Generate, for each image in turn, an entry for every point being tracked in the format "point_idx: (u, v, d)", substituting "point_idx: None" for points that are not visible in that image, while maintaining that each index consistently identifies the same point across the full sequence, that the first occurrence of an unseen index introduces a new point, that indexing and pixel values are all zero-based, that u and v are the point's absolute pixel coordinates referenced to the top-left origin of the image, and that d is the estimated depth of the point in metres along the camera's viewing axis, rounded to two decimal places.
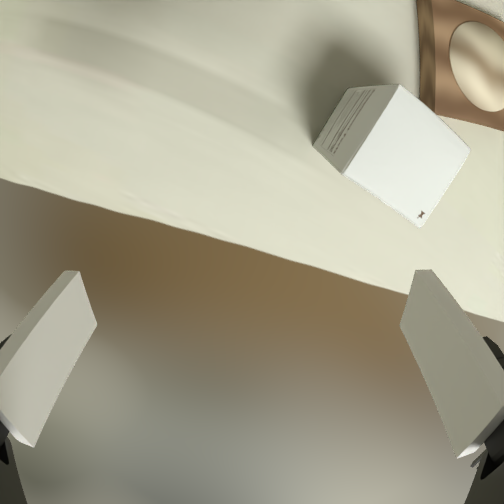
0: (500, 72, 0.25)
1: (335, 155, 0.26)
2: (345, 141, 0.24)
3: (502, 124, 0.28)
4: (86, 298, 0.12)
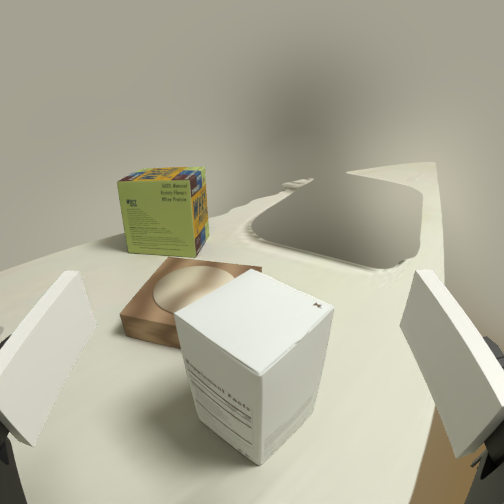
0: (201, 277, 0.46)
1: (250, 405, 0.20)
2: (233, 389, 0.21)
3: None
4: (86, 298, 0.12)
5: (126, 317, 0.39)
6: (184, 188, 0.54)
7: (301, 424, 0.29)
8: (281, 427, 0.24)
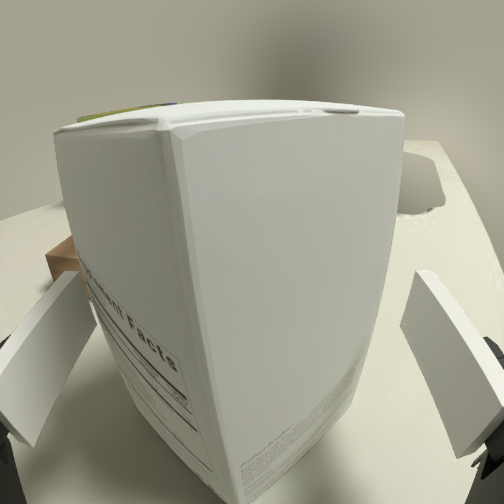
0: None
1: (171, 346, 0.06)
2: (126, 288, 0.06)
3: None
4: (86, 298, 0.12)
5: (53, 259, 0.24)
6: None
7: (329, 428, 0.14)
8: (286, 435, 0.10)
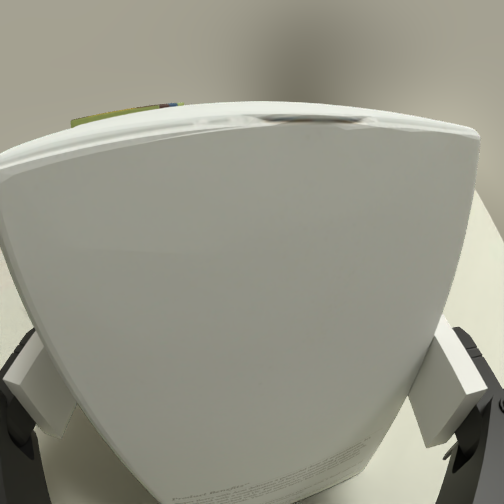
0: None
1: None
2: None
3: None
4: None
5: None
6: None
7: (324, 489, 0.11)
8: (239, 490, 0.08)
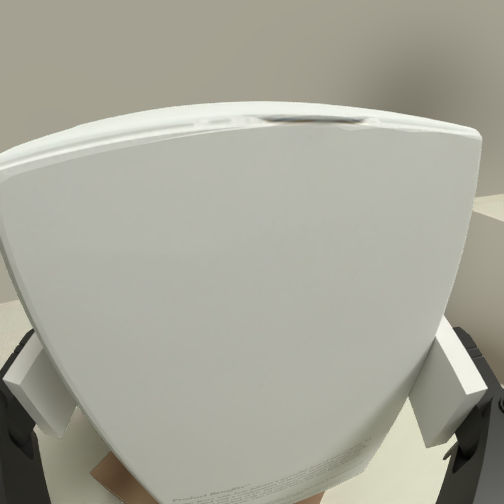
0: None
1: None
2: None
3: None
4: None
5: (100, 482, 0.17)
6: None
7: None
8: (240, 491, 0.08)
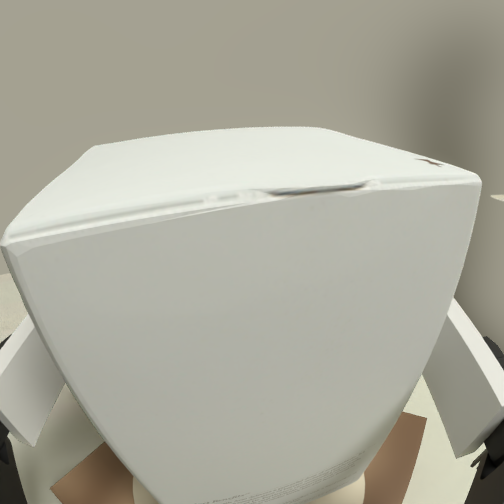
0: None
1: None
2: None
3: (397, 472, 0.12)
4: None
5: None
6: None
7: (320, 497, 0.11)
8: (240, 499, 0.08)
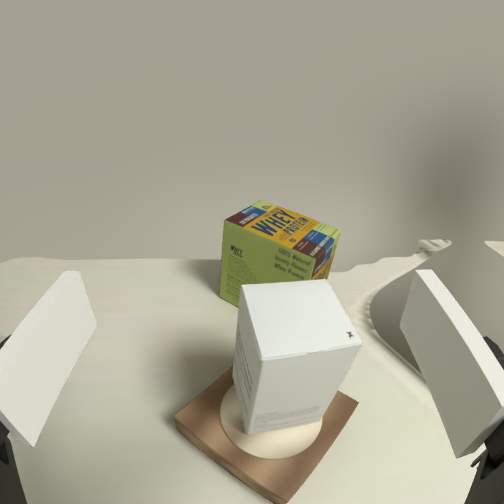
0: None
1: (253, 380, 0.25)
2: (249, 361, 0.26)
3: (337, 423, 0.32)
4: (86, 298, 0.12)
5: (180, 423, 0.31)
6: (306, 265, 0.42)
7: None
8: (276, 414, 0.28)
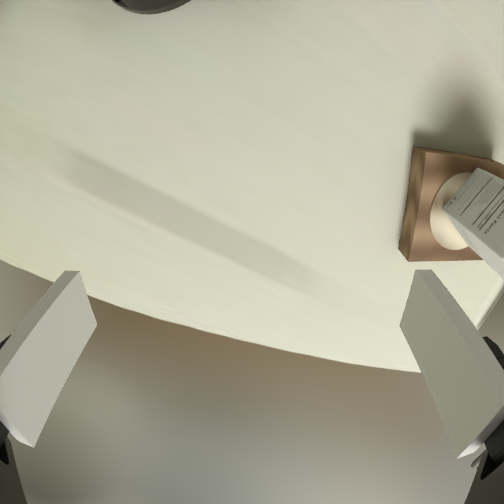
0: None
1: (487, 236, 0.28)
2: (498, 228, 0.27)
3: (468, 255, 0.41)
4: (86, 298, 0.12)
5: (424, 159, 0.35)
6: None
7: (462, 237, 0.39)
8: (466, 235, 0.34)
